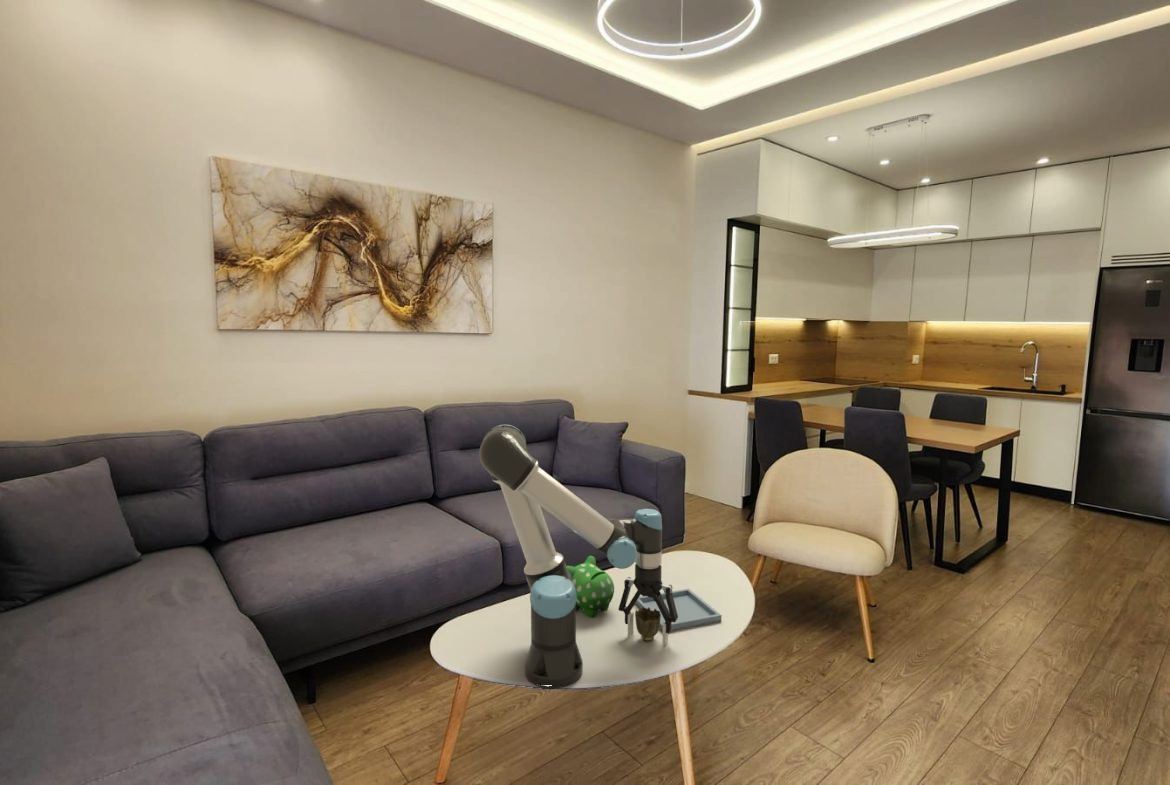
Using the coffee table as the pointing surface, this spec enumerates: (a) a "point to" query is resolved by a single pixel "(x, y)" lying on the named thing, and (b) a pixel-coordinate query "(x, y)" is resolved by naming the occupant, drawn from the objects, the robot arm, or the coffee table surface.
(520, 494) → the robot arm
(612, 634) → the coffee table surface
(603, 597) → the piggy bank
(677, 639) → the coffee table surface
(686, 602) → the tray
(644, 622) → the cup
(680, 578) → the coffee table surface
